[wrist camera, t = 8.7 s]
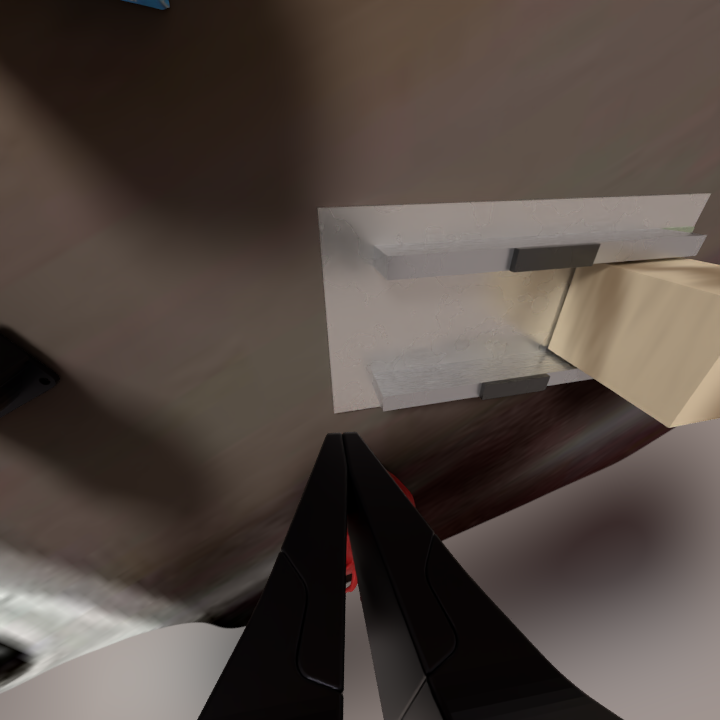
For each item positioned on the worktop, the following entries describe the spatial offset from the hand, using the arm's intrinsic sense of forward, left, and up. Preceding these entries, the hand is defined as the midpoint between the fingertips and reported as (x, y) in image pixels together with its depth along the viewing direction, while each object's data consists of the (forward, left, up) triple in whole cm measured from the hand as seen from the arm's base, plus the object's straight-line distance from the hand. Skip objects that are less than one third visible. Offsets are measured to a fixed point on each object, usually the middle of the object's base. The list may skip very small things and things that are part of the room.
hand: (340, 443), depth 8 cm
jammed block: (+18, -11, -11) cm, 24 cm away
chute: (+12, -8, -12) cm, 19 cm away
